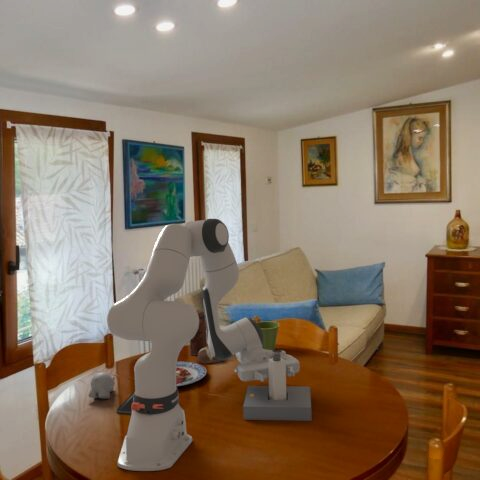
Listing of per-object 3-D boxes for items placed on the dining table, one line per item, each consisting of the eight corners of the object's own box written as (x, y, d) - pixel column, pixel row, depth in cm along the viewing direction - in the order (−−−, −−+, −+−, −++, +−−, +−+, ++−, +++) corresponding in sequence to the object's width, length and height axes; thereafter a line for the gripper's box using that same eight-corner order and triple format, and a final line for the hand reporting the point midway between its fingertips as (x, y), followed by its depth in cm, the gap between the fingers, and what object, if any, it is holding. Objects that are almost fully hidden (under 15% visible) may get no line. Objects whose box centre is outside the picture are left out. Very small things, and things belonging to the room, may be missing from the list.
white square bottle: (286, 408, 155) (285, 354, 153) (274, 410, 153) (273, 356, 152) (281, 403, 158) (279, 350, 157) (269, 405, 157) (268, 352, 155)
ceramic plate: (122, 380, 185) (121, 372, 185) (177, 362, 203) (177, 355, 203) (164, 398, 167) (164, 390, 167) (221, 377, 185) (220, 369, 185)
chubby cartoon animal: (120, 399, 174) (124, 374, 176) (103, 399, 163) (107, 372, 165) (102, 397, 176) (106, 372, 178) (84, 397, 164) (88, 370, 167)
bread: (196, 364, 200) (195, 352, 199) (199, 355, 211) (199, 344, 211) (224, 364, 199) (223, 352, 199) (226, 355, 210) (225, 343, 210)
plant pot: (249, 354, 210) (248, 327, 209) (256, 345, 221) (255, 320, 220) (276, 355, 207) (276, 329, 206) (283, 347, 218) (282, 321, 217)
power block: (311, 420, 147) (311, 406, 146) (243, 419, 149) (243, 405, 149) (310, 398, 163) (309, 386, 162) (248, 397, 165) (248, 385, 165)
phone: (115, 411, 156) (133, 392, 171) (115, 414, 156) (133, 395, 171) (139, 412, 155) (155, 393, 170) (139, 415, 155) (155, 396, 170)
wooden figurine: (194, 347, 222) (193, 307, 220) (209, 347, 221) (207, 307, 219) (187, 356, 210) (185, 313, 208) (202, 356, 209) (200, 314, 207)
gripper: (231, 358, 163) (246, 371, 150) (287, 349, 170) (307, 361, 157) (231, 377, 164) (247, 392, 151) (288, 367, 171) (307, 381, 158)
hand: (278, 376), depth 154 cm, fingers open, 8 cm apart
